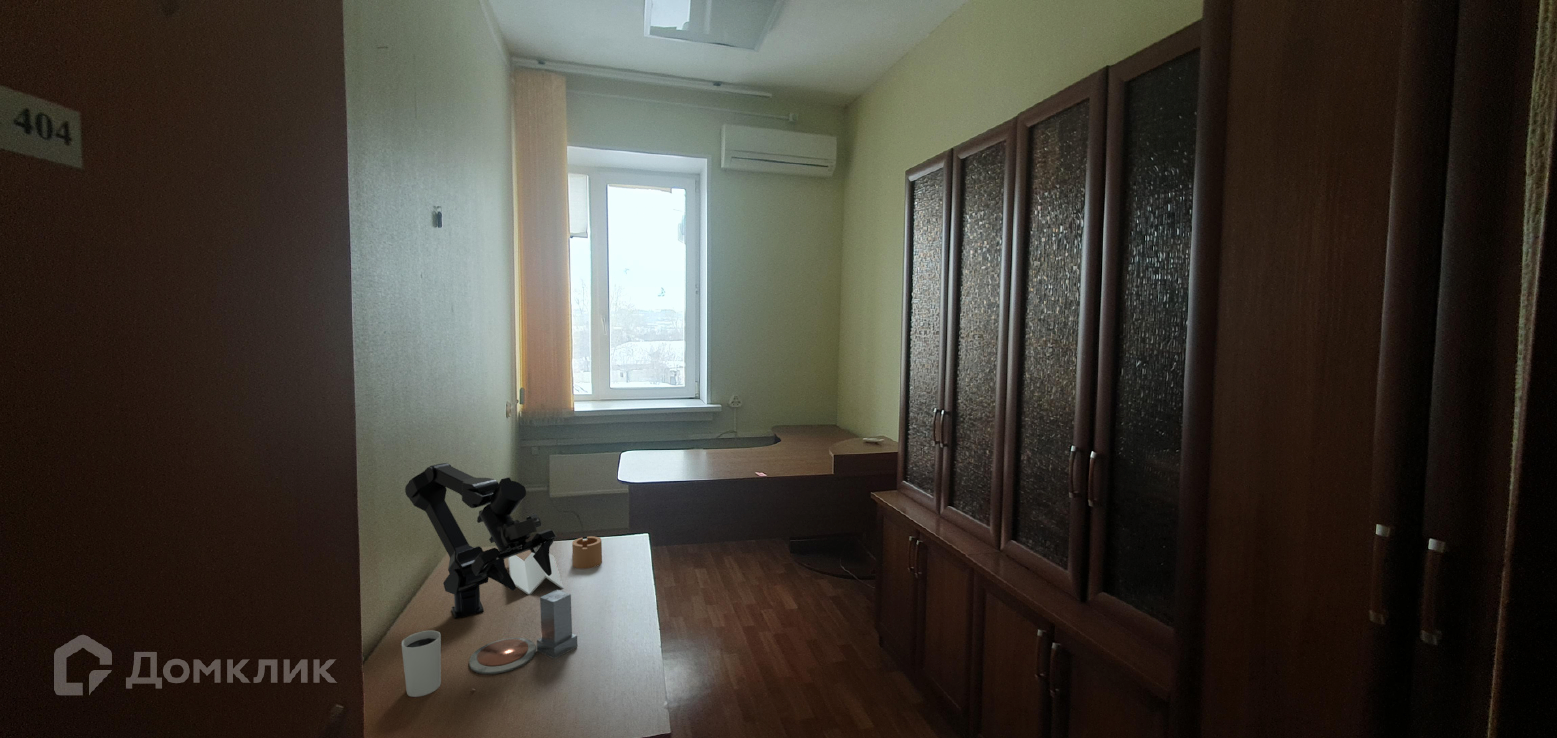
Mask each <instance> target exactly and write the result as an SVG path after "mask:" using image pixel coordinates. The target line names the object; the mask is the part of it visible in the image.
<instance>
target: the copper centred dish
mask: <svg viewBox="0 0 1557 738" xmlns="http://www.w3.org/2000/svg"><path fill="white" fill-rule="evenodd" d="M536 653H537V644H536V642H534V641H532V640H530V639H528V638H524V637H509V638H508V637H507V638H502V639H498V640H495V641H492V642H489V643H487V644H485V645H482V646H481V647H479V648H478V649H476V651H474V652H473V653H472V654H471V656H470V657H469V661H468V662H469V663H468V664H469V669H470V670H471V671H472V672H474V673H476V674H480V675H498V674H503V673H508V672H511V671H515V670H517V669H519V668H521V667H523V666H524V665H526V664H527V663H529V662H530V661H532V660H533V658H534V657H535V655H536Z"/></svg>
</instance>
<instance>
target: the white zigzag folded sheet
mask: <svg viewBox="0 0 1557 738" xmlns="http://www.w3.org/2000/svg"><path fill="white" fill-rule="evenodd" d="M534 554H535V553H532V552H531V553H530V554H529V555H528V556H527V557H526V558H525V559H524V560H523V559H522V558H520V557H519V556H517V555H514V556H511V557H508V558H507V560H508V561H507V562H508V569H509V571H508V572H509V574H510V576H511V578H512V580H513V581H514V583H515V586H516V589H519V590H520V591H521V592H523V593H525V594H527V595H528V596H530V595H532V594H533V592H534V591H535V590H536V589H537V588H538V587H539V586H540V585H541V584H542V582H543V581H544V580H545V579H547V580H549V581H550V582H551V583H553V584H555V585H556V586H557V587H559V588H560V589H561V590H563V589H564V585H563V582H562V578H561V575H560V572H559V568H558V565H557V562H556V559H555V556H554V555H552V554H551V553H550V552H549V557H550V564H551V571H552V574H551V575H550V576H548V575H547V574H546V573H545V572H544V571H543V569H542V568H541V567H540V565H539V564H538V563H537V561H536V560H535V559H534V557H533V556H534Z"/></svg>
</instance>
